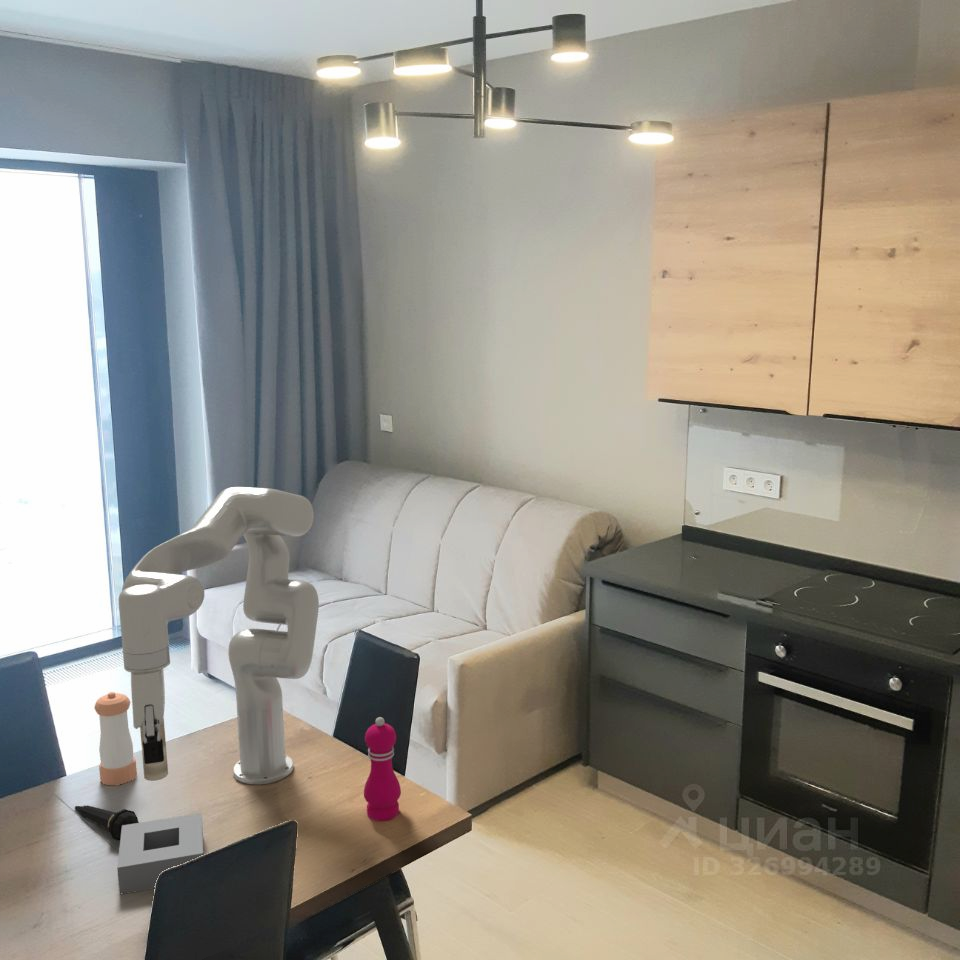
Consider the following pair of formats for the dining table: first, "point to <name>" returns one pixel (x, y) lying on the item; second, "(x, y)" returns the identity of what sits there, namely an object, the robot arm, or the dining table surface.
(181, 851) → the socket block
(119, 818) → the microphone
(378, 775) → the pepper mill
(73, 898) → the dining table surface
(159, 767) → the peg
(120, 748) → the salt shaker
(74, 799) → the dining table surface
